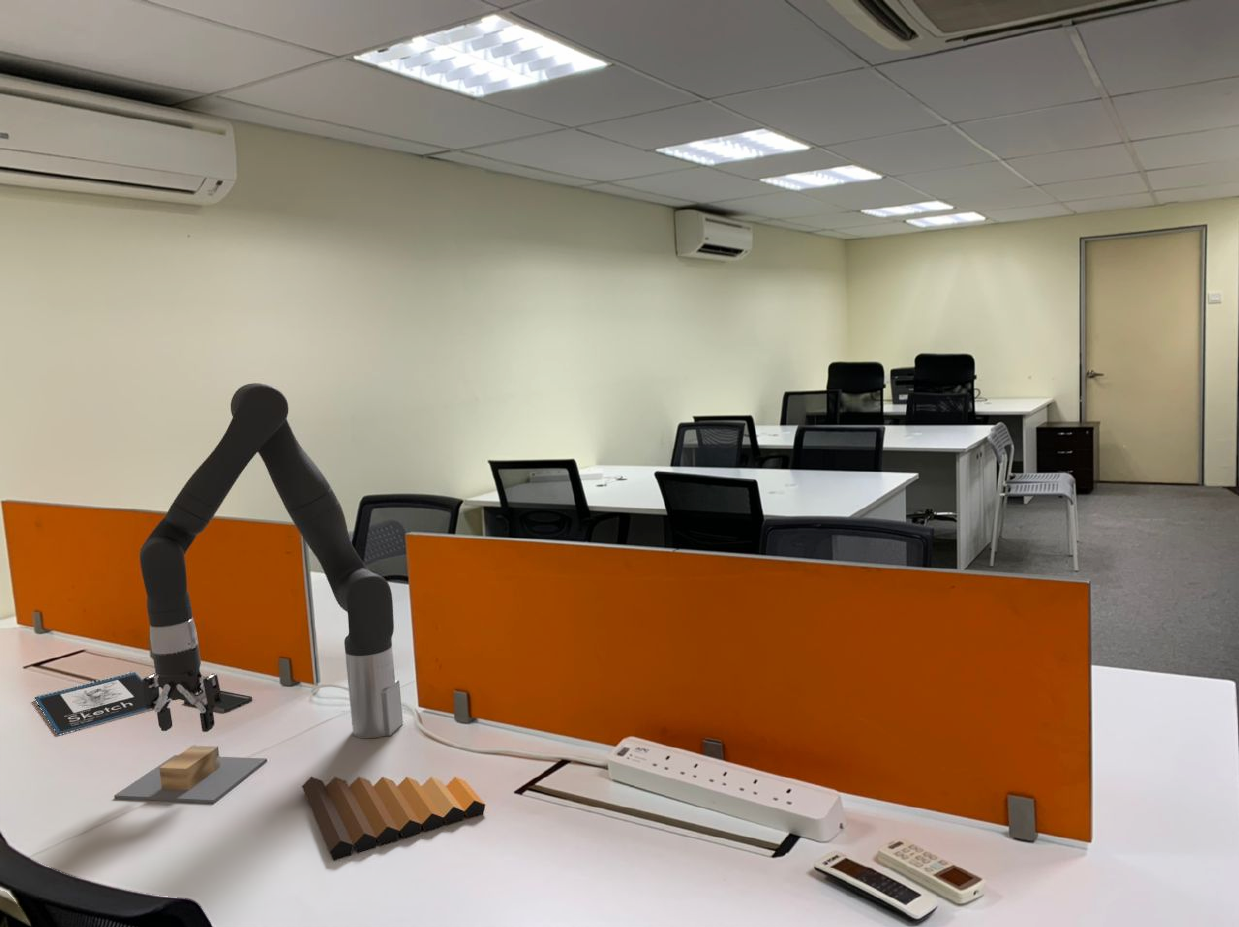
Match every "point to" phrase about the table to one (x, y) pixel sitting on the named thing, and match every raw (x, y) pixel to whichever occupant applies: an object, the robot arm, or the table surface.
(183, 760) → the block
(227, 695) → the phone
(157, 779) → the mat
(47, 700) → the sketchbook
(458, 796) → the ridged wooden panel
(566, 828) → the table surface
